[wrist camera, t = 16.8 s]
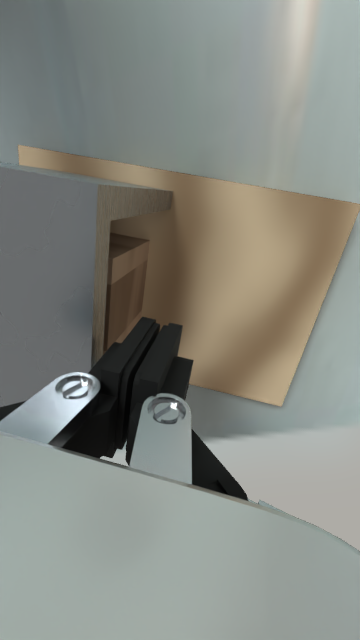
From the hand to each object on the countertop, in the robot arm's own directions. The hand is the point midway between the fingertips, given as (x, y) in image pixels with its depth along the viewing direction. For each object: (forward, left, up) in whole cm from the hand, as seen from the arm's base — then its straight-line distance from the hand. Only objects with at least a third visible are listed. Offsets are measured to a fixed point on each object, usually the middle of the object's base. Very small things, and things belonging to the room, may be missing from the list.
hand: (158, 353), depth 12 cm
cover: (-5, 0, -8) cm, 10 cm away
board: (-2, 0, -10) cm, 10 cm away
